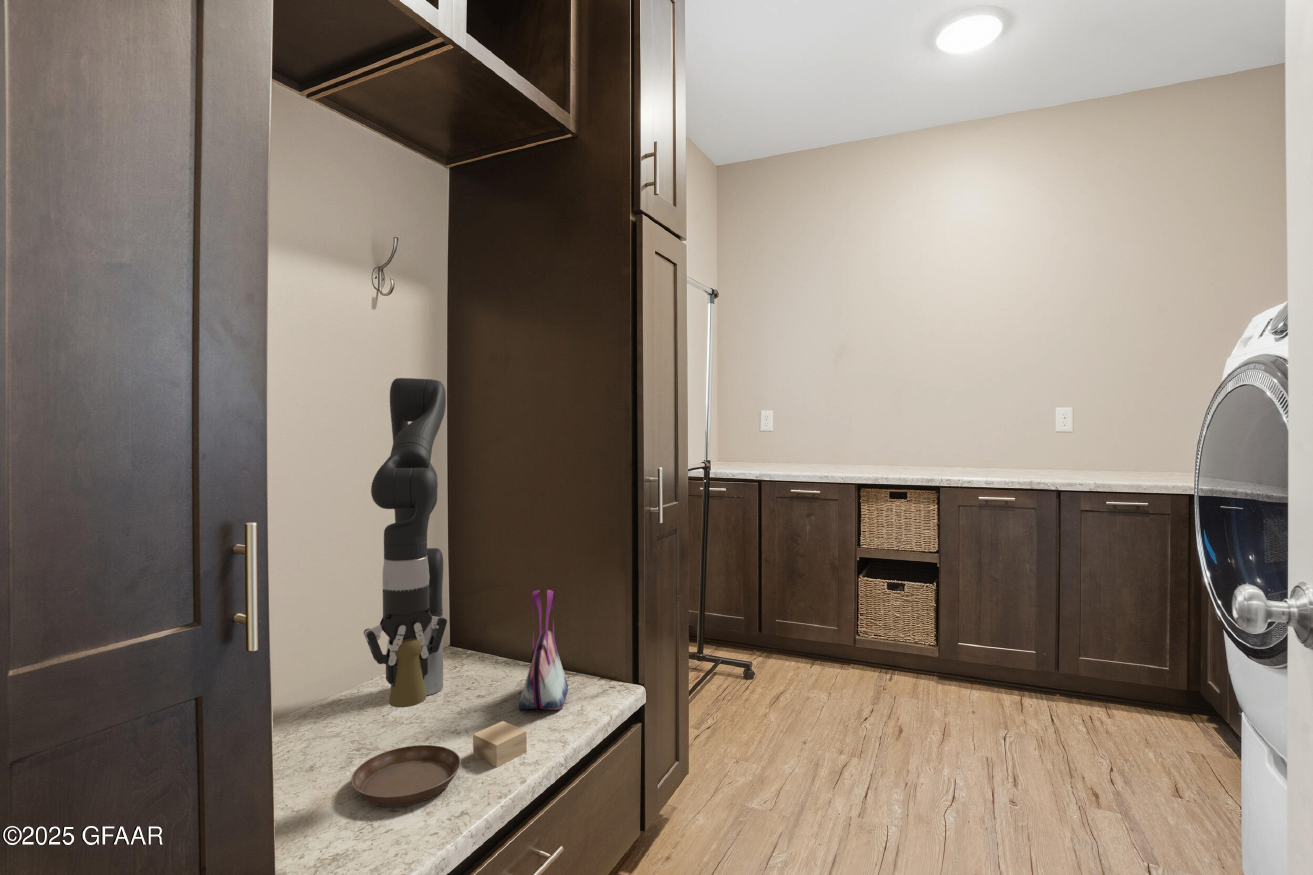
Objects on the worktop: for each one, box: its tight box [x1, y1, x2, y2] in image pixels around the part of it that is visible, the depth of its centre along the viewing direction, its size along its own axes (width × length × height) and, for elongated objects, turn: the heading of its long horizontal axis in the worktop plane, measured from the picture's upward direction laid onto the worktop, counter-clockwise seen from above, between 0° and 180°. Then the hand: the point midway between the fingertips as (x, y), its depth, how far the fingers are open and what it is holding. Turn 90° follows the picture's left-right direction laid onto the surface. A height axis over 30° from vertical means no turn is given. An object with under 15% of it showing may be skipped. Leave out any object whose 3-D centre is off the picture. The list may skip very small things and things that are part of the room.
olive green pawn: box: [388, 638, 427, 708], centre depth 112 cm, size 6×6×11 cm
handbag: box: [518, 589, 569, 711], centre depth 147 cm, size 21×10×25 cm, turn 1°
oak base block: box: [472, 720, 528, 768], centre depth 123 cm, size 7×7×4 cm
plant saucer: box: [350, 744, 462, 808], centre depth 113 cm, size 18×18×3 cm
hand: (407, 681), depth 113 cm, fingers closed on olive green pawn, 4 cm apart
